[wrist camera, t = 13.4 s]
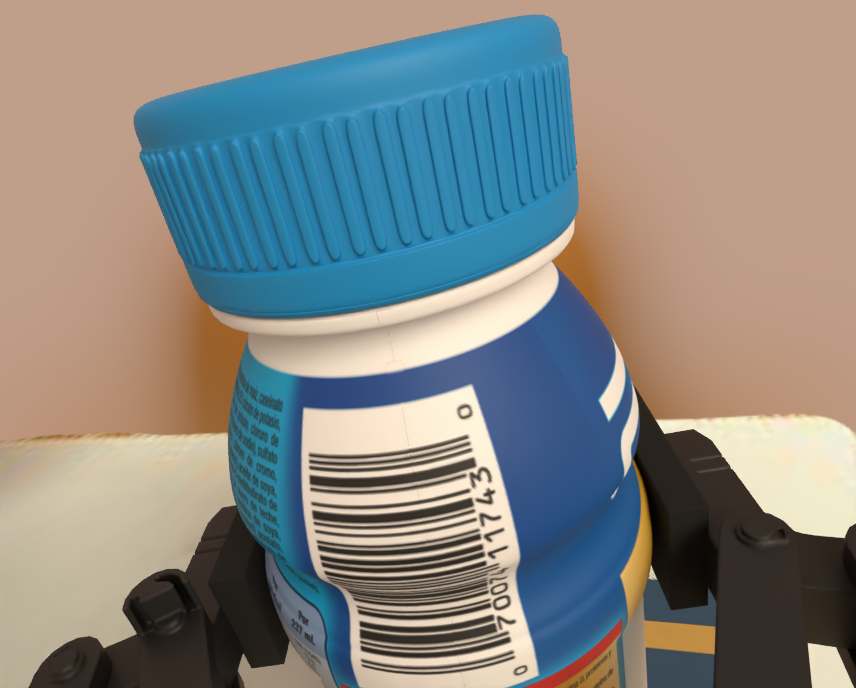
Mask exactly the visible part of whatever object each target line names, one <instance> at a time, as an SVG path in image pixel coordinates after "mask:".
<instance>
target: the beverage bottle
mask: <svg viewBox="0 0 856 688" xmlns="http://www.w3.org/2000/svg"><path fill="white" fill-rule="evenodd" d="M568 68H569V67H568V57H567V56H565V55H564V54H563V53H562V46H561V37H560V32H559V28H558V26H557V24H556V22H555V21H554V20H553V19H552V18H550V17H548V16H545V15H525V16H518V17H512V18H506V19H501V20H496V21H491V22H486V23H481V24H476V25H471V26H466V27H462V28H457V29H452V30H447V31H442V32H438V33H433V34H429V35H424V36H419V37H414V38H410V39H405V40H401V41H397V42H392V43H387V44H383V45H378V46H374V47H369V48H365V49H361V50H356V51H351V52H347V53H343V54H338V55H334V56H329V57H325V58H320V59H317V60H312V61H307V62H303V63H299V64H295V65H290V66H286V67H281V68H277V69H273V70H268V71H265V72H260V73H256V74H252V75H247V76H243V77H239V78H235V79H231V80H227V81H223V82H219V83H215V84H210V85H206V86H202V87H198V88H195V89H191V90H186V91H183V92H179V93H176V94H172V95H168V96H165V97H161V98H158V99H155V100H153V101H150V102H148V103H146V104H144V105H143V106H141V107H140V108H139V109H138V110H137V111H136V113H135V115H134V127H135V131H136V134H137V137H138V139H139V142H140V144H141V147H142V151H141V152H140V155H139V157H140V159H141V161H142V164H143V166H144V169H145V171H146V174H147V176H148V178H149V181H150V184H151V186H152V189H153V191H154V194H155V196H156V198H157V201H158V203H159V206H160V208H161V211H162V213H163V216H164V218H165V221H166V223H167V225H168V228H169V230H170V233H171V235H172V238H173V240H174V243H175V245H176V248H177V250H178V253H179V255H180V256H181V258H182V259H183V262H184V265H185V267H186V269H187V272H188V274H189V277H190V279H191V281H192V284H193V286H194V288H195V290H196V292H197V293H198V295H199V296H200V298H201V299H202V300H203V301H204V302H205V303H207V304H208V306H209V308H210V310H211V312H212V313H213V315H214V316H215V317H216V318H217V319H218V320H219V321H221V322H222V323H224V324H225V325H227V326H229V327H231V328H234V329H237V330H240V331H244V332H248V333H249V335H248V338H247V341H246V344H245V347H244V351H243V354H242V358H241V361H240V365H239V369H238V373H237V377H236V381H235V386H234V392H233V397H232V403H231V409H230V417H229V428H228V456H229V470H230V479H231V485H232V491H233V495H234V499H235V502H236V505H237V508H238V511H239V513H240V516H241V518H242V520H243V522H244V524H245V525H246V527H247V528H248V530H249V531H250V533H251V534H252V536H253V537H254V538H255V539H256V540H257V542H258V543H259V544H260V545H261V546H262V547H263V548H264V549H265V567H266V575H267V580H268V585H269V589H270V593H271V596H272V599H273V602H274V605H275V608H276V611H277V613H278V616H279V618H280V621H281V623H282V626H283V628H284V630H285V632H286V634H287V636H288V638H289V640H290V641H291V643H292V645H293V646H294V648H295V649H296V651H297V652H298V654H299V655H300V656H301V658H302V659H303V660H304V661H305V662H306V664H307V665H308V666H309V667H310V668H311V669H312V670H313V671H314V672H315V673H316V674H317V675H318V676H319V677H320V678H321V680H322V682H323V684H324V687H325V688H647V670H646V649H645V627H644V604H643V593H644V591H645V588H646V584H647V581H648V577H649V573H650V567H651V559H652V525H651V515H650V508H649V502H648V497H647V492H646V488H645V485H644V481H643V479H642V476H641V473H640V471H639V468H638V466H637V464H636V462H635V461H634V459H633V458H634V455H635V452H636V448H637V444H638V438H639V429H640V416H639V407H638V401H637V397H636V392H635V389H634V386H633V383H632V380H631V377H630V375H629V372H628V369H627V367H626V365H625V362H624V360H623V358H622V356H621V353H620V351H619V349H618V347H617V345H616V343H615V341H614V340H613V338H612V336H611V335H610V333H609V331H608V330H607V328H606V327H605V325H604V324H603V322H602V321H601V319H600V318H599V316H598V315H597V313H596V312H595V311H594V309H593V308H592V307H591V306H590V304H589V303H588V301H587V300H586V299H585V298H584V297H583V296H582V294H581V293H580V292H579V290H578V289H577V288H576V287H575V286H574V285H573V284H572V283H571V281H570V280H569V279H568V278H567V277H566V276H565V275H564V274H563V273H562V272H561V271H560V270H559V269H558V268H557V267H556V266H555V265H554V264H553V263H552V262H551V261H552V260H553V259H554V258H555V257H557V256H558V254H560V253H561V252H562V251H563V249H564V248H565V247H566V246H567V244H568V243H569V241H570V240H571V237H572V235H573V232H574V226H575V225H574V224H575V221H574V218H575V216H576V213H577V210H578V200H579V195H578V181H577V170H576V164H577V159H576V148H575V136H574V125H573V114H572V104H571V103H572V102H571V92H570V79H569V69H568Z"/></svg>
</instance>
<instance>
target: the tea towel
mask: <svg viewBox="0 0 856 688" xmlns="http://www.w3.org/2000/svg"><path fill="white" fill-rule="evenodd" d="M643 604H644V627H645V649H646V670H647V688H713V677H714V652H715V627H716V601H715V599H714V597H713V595H712V594H711V592H710V590H709V588H708V606H701V607H693V608H686V609H679V610H671V609H670V607H669V605H668V602H667V600H666V598H665V596H664V593H663V591H662V589H661V586H660V584H659V582H658V580H649V579H648V581H647V584H646V588H645V591H644V593H643Z"/></svg>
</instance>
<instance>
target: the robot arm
mask: <svg viewBox="0 0 856 688" xmlns="http://www.w3.org/2000/svg"><path fill="white" fill-rule="evenodd" d="M633 386H634V385H633ZM634 389H635V392H636V397H637V401H638V407H639V416H640V429H639V438H638V444H637V448H636V452H635V455H634V458H633V459H634V461H635V462H636V464H637V466H638V468H639V471H640V473H641V476H642V479H643V481H644V485H645V488H646V492H647V497H648V502H649V508H650V515H651V525H652V559H651V566H652V568H653V570H654V573H655V575H656V577H657V579H658V582H659V584H660V586H661V589H662V591H663V593H664V596H665V598H666V600H667V602H668V605H669V607H670V609H671V610H679V609H686V608H693V607H701V606H708V588H709V590H710V592H711V594H712V595H713V597H714V599H715V601H716V627H715V652H714V677H713V688H812V683H811V673H810V663H809V653H808V643H812V644H819V645H825V646H832V647H836V648H837V650H838V652H839V655H840V657H841V659H842V661H843V664H844V666H845V668H846V670H847V673H848V675H849V677H850V679H851V682H852V684H853V686H854V688H856V524H854V525H853V526H851V527H849V529H848V531H847V534H846V536H845V538H836V537H825V536H815V535H808V534H802V533H799V532H795V531H793V530H792V529H791V528H790V527H789V526H788V525H787V524H786V523H785V522H784V521H783V520H781V519H779V518H777V517H775V516H773V515H771V514H768V513H764V512H763V510H762V509H761V508H760V506H759V505H758V504H757V502H756V501H755V499H754V498H753V497H752V495H751V494H750V493H749V491H748V490H747V489H746V487H745V486H744V484H743V483H742V482H741V480H740V479H739V478H738V476H737V475H736V473H735V472H734V471H733V469H731V468H730V465H729V464H728V463H727V461H726V460H725V458H724V457H722V454H721V453H720V452H719V450H718V449H717V447H716V446H715V445H714V443H713V442H712V441H711V440H710V439H708V438H707V437H705V436H704V435H702V434H700V433H699V432H697V431H696V430H694V429H692V430H686V431H680V432H674V433H667V434H664V433H663V431H662V430H661V428H660V427H659V425H658V423H657V422H656V420H655V418H654V417H653V415H652V414H651V412H650V410H649V409H648V407H647V406H646V404H645V402H644V401H643V399H642V397H641V396H640V394H639V393H638V391H637V389H636V388H635V386H634ZM122 610H123V612H124V613H125V615H126V617H127V618H128V620H129V621H130V623H131V625H132V626H133V628H134V629H135V631H136V632H137V634H136V635H134V636H132V637H130V638H127V639H125V640H123V641H120V642H118V643H115V644H113V645H111V646H108V647H106V648H103V647H102V645H101V644H100V642H99V641H98V639H96V638H93V637H90V636H88V637H81V638H77V639H75V640H72V641H70V642H68V643H66V644H64V645H63V646H61V647H60V648H58V649H57V650H56V651H54V652H53V653H52V654H51V655H50V656H49V657H48V658H47V659H46V660H45V661H44V662H43V663H42V664H41V666H40V667H39V669H38V670H37V672H36V673H35V675H34V677H33V679H32V682H31V684H30V686H29V688H244V682H243V680H242V678H241V676H240V674H239V672H238V667H239V664H240V661H241V658H242V654H243V653H244V655H245V657H246V658H247V660H248V662H249V664H250V666H251V668H258V667H265V666H273V665H280V664H284V662H285V658H286V654H287V650H288V645H289V641H290V640H289V638H288V636H287V634H286V632H285V630H284V628H283V626H282V623H281V621H280V618H279V616H278V613H277V611H276V608H275V605H274V602H273V599H272V596H271V593H270V589H269V585H268V580H267V575H266V567H265V549H264V548H263V547H262V546H261V545H260V544H259V543H258V542H257V540H256V539H255V538H254V537H253V536H252V534H251V533H250V531H249V530H248V528H247V527H246V525H245V524H244V522H243V520H242V518H241V516H240V513H239V511H238V508H237V505H236V506H230V507H224V508H222V509H221V510H220V511H219V512H218V513H217V514H216V515H215V516H214V517H213V518H212V519H211V521H210V522H209V523H208V525H207V527H206V529H205V531H204V533H203V536H202V538H201V542H199V544H198V546H197V548H196V551H195V555H193V557H192V559H191V561H190V564H189V566H188V568H187V570H186V572H183V571H181V570H179V569H166V570H163V571H160V572H157V573H154V574H153V575H151V576H149V577H147V578H146V579H144V580H143V581H141V582H140V583H139V584H138V585H137V586H136V587H135V588H134V589H132V591H131V592H130V594H129V595H128V596H127V598H126V599H125V602H124V605H123V609H122Z"/></svg>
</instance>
